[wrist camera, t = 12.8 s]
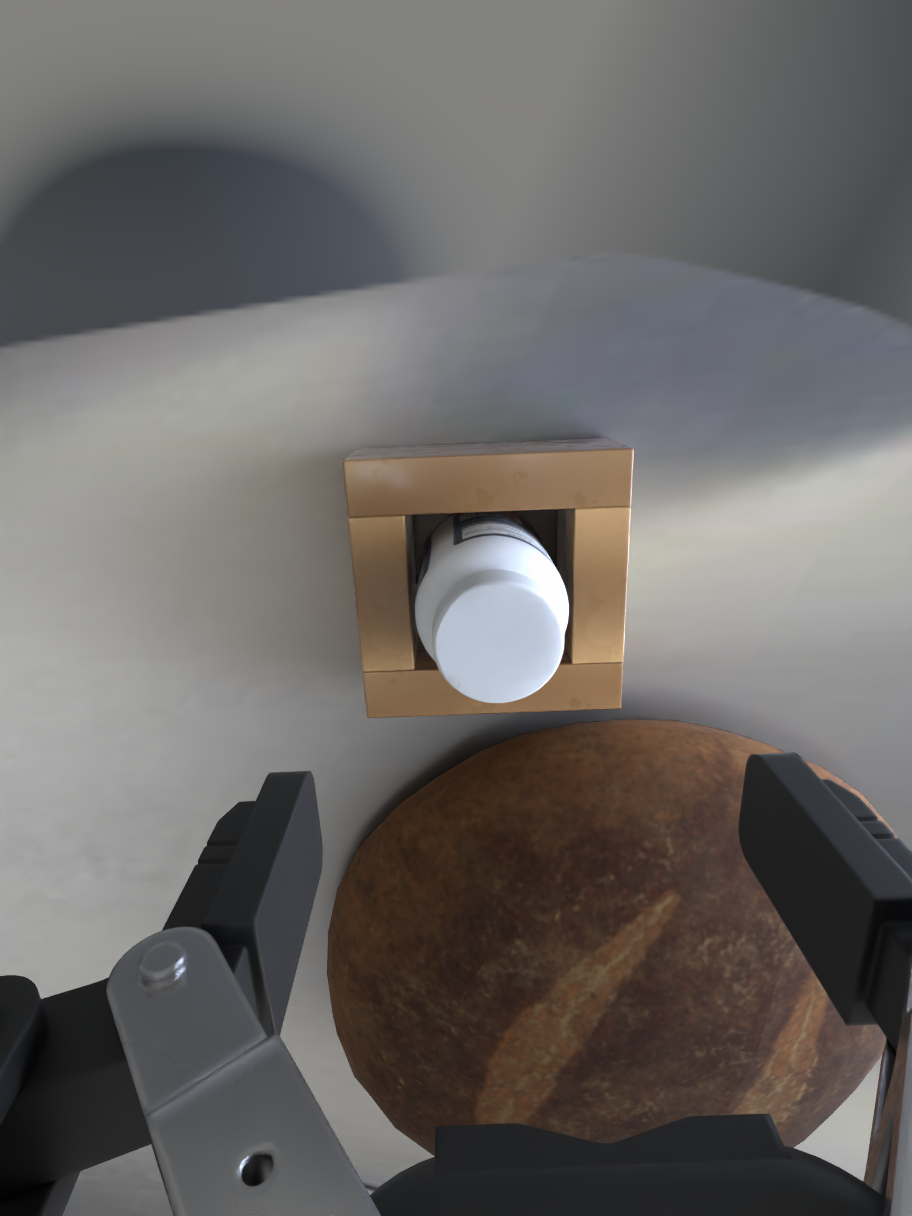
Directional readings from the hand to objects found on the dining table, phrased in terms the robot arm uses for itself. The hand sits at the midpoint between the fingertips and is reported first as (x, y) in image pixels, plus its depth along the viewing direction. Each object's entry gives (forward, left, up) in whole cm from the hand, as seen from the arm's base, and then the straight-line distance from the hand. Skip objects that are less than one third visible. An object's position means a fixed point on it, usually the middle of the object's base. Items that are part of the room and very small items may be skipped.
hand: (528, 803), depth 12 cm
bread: (+20, +6, -17) cm, 27 cm away
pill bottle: (0, 0, -17) cm, 17 cm away
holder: (0, 0, -17) cm, 17 cm away
